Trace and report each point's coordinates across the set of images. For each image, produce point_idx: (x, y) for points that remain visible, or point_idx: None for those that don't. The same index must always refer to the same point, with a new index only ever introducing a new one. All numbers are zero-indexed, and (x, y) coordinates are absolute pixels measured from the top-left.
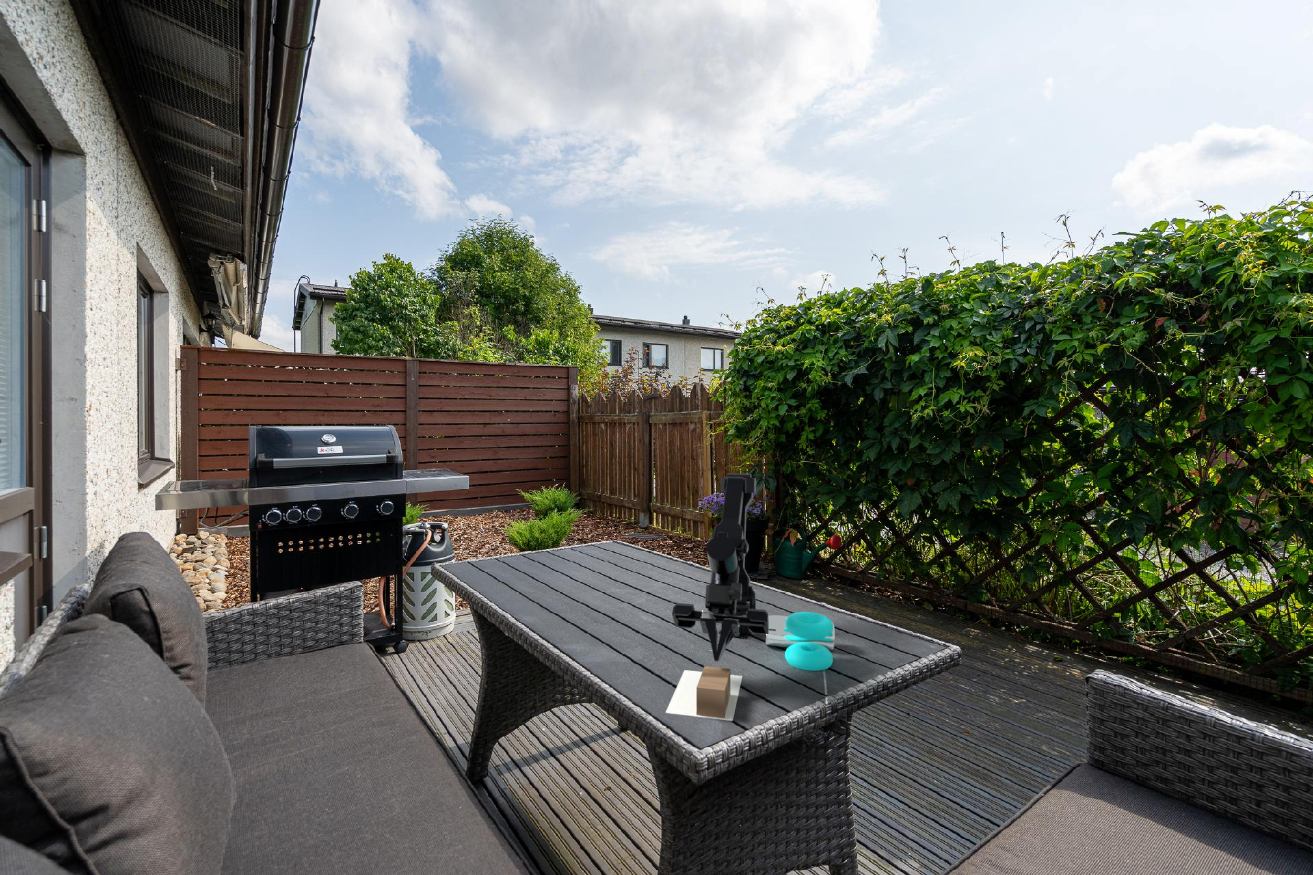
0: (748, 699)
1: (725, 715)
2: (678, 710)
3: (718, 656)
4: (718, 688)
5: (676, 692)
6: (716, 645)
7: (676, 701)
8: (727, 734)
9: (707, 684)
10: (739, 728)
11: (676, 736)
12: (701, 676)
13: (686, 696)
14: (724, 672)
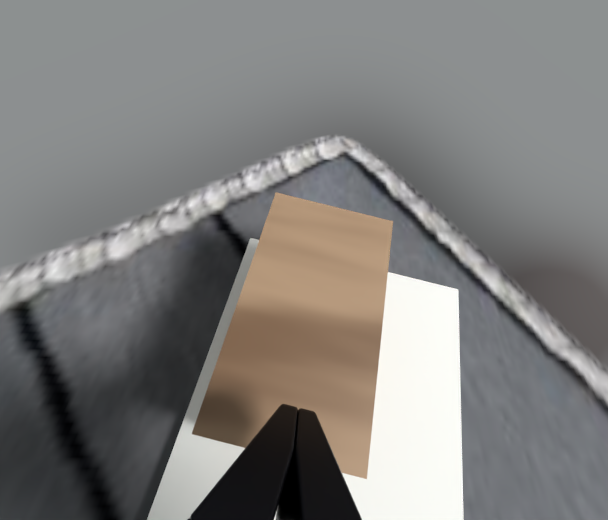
0: (142, 409)
1: None
2: (420, 300)
3: (279, 414)
4: (300, 208)
5: (453, 449)
6: (297, 508)
7: (438, 366)
8: (274, 196)
9: (346, 241)
10: (235, 219)
11: (403, 197)
12: (377, 324)
13: (406, 409)
14: (244, 373)
